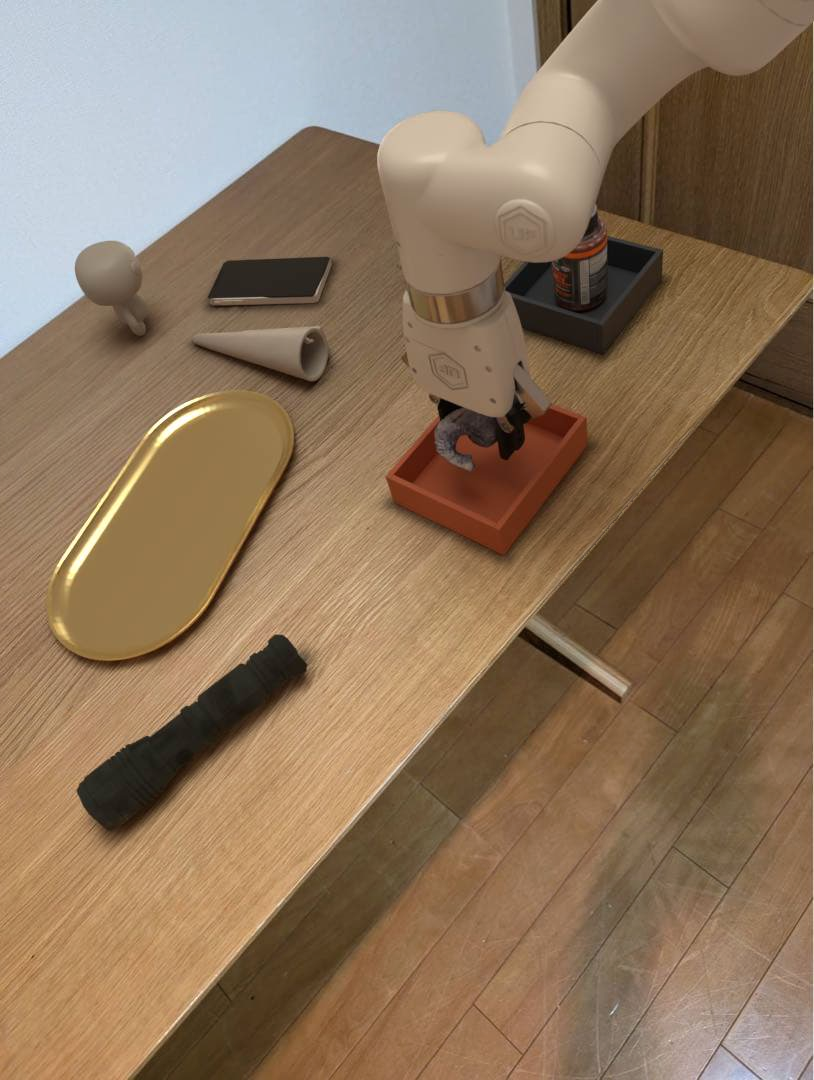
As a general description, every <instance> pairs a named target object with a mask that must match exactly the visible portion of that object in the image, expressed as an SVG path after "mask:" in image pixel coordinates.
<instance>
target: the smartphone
mask: <svg viewBox="0 0 814 1080" xmlns="http://www.w3.org/2000/svg"><path fill="white" fill-rule="evenodd" d="M332 265H333V264H332V260H331V258H330V257H328V256H311V257H310V256H309V257H287V258H286V257H284V258H261V259H260V258H259V259H235V260H234V259H232V260H227V261H224V262H223V263H222V265H221V268H220V270H219V272H218V274H217V276H216V279H215V281H214V283H213V285H212V287H211V289H210V291H209V293H208V295H207V300H208V301H209V304H210V305H212V306H249V305H250V306H251V305H289V304H290V305H292V304H293V305H294V304H315V303H319V301H320V299H321V296H322V293H323V290H324V287H325V285H326V283H327V280H328V276H329V273H330V271H331V268H332Z"/></svg>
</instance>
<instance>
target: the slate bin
mask: <svg viewBox="0 0 814 1080" xmlns="http://www.w3.org/2000/svg"><path fill="white" fill-rule="evenodd" d="M663 263H664V249H662V248H657V247H653V246H649V245H645V244H642V243H637V242H633V241H629V240H626V239H622V238H617V237H614V236H610V235H607V284H608V285H607V295H606V297H605V299H604V301H603V302H602V303H601V304H599V305H598V306H597V307H595V308H593V309H590V310H586V311H570V310H567V309H564V308H562V307H561V306H559V304H558V303H557V302H556V300H555V296H554V287H553V271H552V261H550V262H539V263H533V262H525V261H523V262H522V263H521V265H520V266H519V267H518V268H517V269H516V270H515V271H514V272H513V273H512V275H511V276H509V278H508V279H507V280H506V281H505V282H504V286H505V291H507V292H508V293H510V294H511V297H512V299H513V302H514V304H515V307H516V310H517V313H518V316H519V319H520V323H521V326H522V329H524V330H527V331H530V332H533V333H536V334H540V335H543V336H545V337H549V338H552V339H555V340H558V341H561V342H563V343H567V344H570V345H572V346H576V347H578V348H582V349H585V350H588V351H591V352H595V353H598V354H601V355H604V354H605V352H606V351H607V350H608V348H609V347H610V346H611V345H612V344H613V342H614V341H615V340H616V339H617V338H618V336H619V335H620V334H621V332H622V331H623V330H624V329H625V328H626V327H627V325H628V324H629V322H630V321H631V320H632V319H633V317H634V316H635V315H636V313H637V312H638V311H639V310H640V309H641V307H642V306H643V305H644V303H646V301H647V300H648V298H649V297H650V296H651V294H652V293H653V292H654V291H655V290H656V288H658V286H659V284H660V283H661V282H662V281H663V267H664V266H663V265H664V264H663Z"/></svg>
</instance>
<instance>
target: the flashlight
mask: <svg viewBox="0 0 814 1080" xmlns="http://www.w3.org/2000/svg"><path fill="white" fill-rule="evenodd" d="M307 667H308V663H307V662H306V661H305V660H304V659H303V658H302V656H301V655H300V654H299V651H298V650H297V648H296V647H295V646H294V645H293V643H292V642H291V641H290V639H289V638H288V637H286V636H285V635H284V634H274V635H272V636H271V637H270V638H269V639H268V640H267V645H266V646H264V647H263V648H262V649H261V650H259V651H258V652H253V653H252V654H251V655H250V656H249V658H248V660H247V661H245V663H244V662H243V663H241V662H240V663H239V664H238V665H235V667H234V668H233V669H231V670H230V671H228V672H227V673H226V674H224V675H223V676H222V677H221V678H219V679H218V680H217V681H215V682H214V683H213V684H212V685H210V686H209V687H208V688H206V689H205V690H204V691H203V692H201V693H200V694H198V696H197V701H193V702H192V703H191V704H190V705H185V706H184V707H182V708H181V709H180V712H179V714H177V715H176V716H175V717H173V718H172V719H171V720H169V721H168V722H167V723H166V724H164V725H163V726H162V727H161V728H159V729H158V730H157V731H155V732H154V733H153V734H152V735H144V736H143V737H141V738H140V739H137V740H135V741H134V742H132V743H127V744H125V746H124V747H121V748H120V750H119V751H116V752H115V753H114V755H111V756H110V757H109V758H107V759H106V760H105V761H103V762H102V763H101V764H99V765H98V766H97V767H96V768H94V769H93V770H92V771H90V772H89V773H88V774H87V775H85V776H83V777H84V778H83V780H82V781H80V782H79V784H78V786H77V788H76V794H77V796H78V797H79V800H80V802H81V804H82V806H83V808H84V809H85V811H86V813H87V814H88V815H89V816H90V817H91V818H93V820H95V821H96V822H97V823H98V824H99V825H100V826H101V827H103V828H104V829H105V830H107V831H109V832H113V830H114V829H116V828H118V826H123V825H124V824H125V823H126V822H127V821H128V820H130V819H131V818H132V817H133V816H134V815H136V814H137V813H139V812H140V811H141V810H142V809H144V808H145V807H146V805H147V806H148V805H149V804H150V801H151V802H152V801H154V799H155V797H156V798H157V797H158V796H159V795H160V793H163V792H164V791H165V788H166V787H167V786H168V784H170V782H172V780H173V779H174V778H175V776H177V773H178V770H179V769H180V768H181V767H183V766H187V765H189V764H190V763H191V762H192V761H193V760H194V757H195V756H196V755H197V754H198V753H200V752H201V751H202V750H203V749H204V748H206V747H211V746H212V745H213V744H215V743H216V739H217V738H218V737H220V736H221V735H222V733H225V734H226V733H228V732H230V731H231V730H232V729H234V728H235V727H236V726H237V725H238V724H240V723H241V722H242V721H243V720H244V719H245V718H247V717H248V716H249V715H251V714H252V713H254V711H256V710H257V709H258V708H259V707H261V706H262V705H263V704H264V703H265V702H267V701H268V700H269V698H270V694H273V693H274V692H275V691H277V690H279V689H280V688H281V687H282V686H283V685H284V684H285V683H286V682H287V681H289V680H290V679H291V678H293V677H294V678H298V677H300V676H301V675H303V674H304V673H306V672H307Z"/></svg>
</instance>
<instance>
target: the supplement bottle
mask: <svg viewBox="0 0 814 1080" xmlns="http://www.w3.org/2000/svg"><path fill="white" fill-rule="evenodd" d="M607 236H608V228H607V225H606V224H605V222H604V220H602V218H600V217H599V215H598V206H597V204H596V203H595V206H594V209H593V212H592V215H591V218H590V221H589V224H588V227H587V229H586V231H585V234H584V236H583V238H582V239H581V241H580V242H579V244H578V245H577V246H576V247H575V248H574V249H573V250H572V251H571V252H570V253H569V254H567V255H566V256H564V257H562V258H560V259H557V260H554V261H552V271H553V287H554V296H555V300H556V302H557V303H558V304H559V306H561V307H562V308H564V309H567V310H570V311H586V310H590V309H593V308H595V307H597V306H598V305H599V304H601V303H602V302H603V301H604V299H605V297H606V295H607V285H608V284H607Z"/></svg>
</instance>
